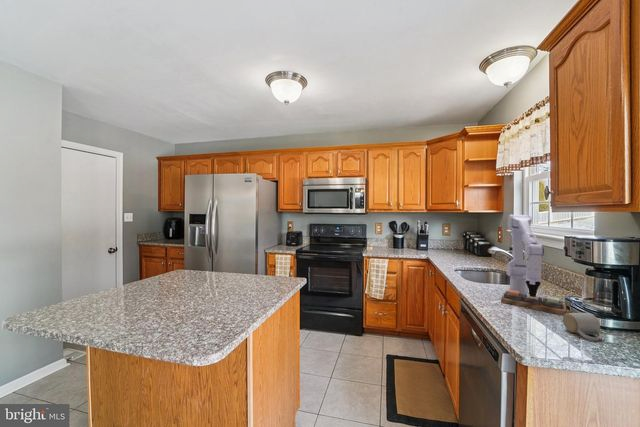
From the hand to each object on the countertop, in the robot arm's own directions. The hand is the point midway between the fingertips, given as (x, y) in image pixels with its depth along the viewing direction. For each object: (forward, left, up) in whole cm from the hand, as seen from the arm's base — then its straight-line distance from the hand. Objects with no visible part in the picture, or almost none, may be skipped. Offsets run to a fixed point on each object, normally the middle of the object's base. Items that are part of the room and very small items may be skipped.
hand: (532, 296), depth 131 cm
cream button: (0, 0, -2) cm, 2 cm away
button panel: (0, 0, -4) cm, 4 cm away
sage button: (-2, +7, -2) cm, 8 cm away
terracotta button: (+2, -7, -1) cm, 8 cm away
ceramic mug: (+20, +23, -5) cm, 31 cm away
